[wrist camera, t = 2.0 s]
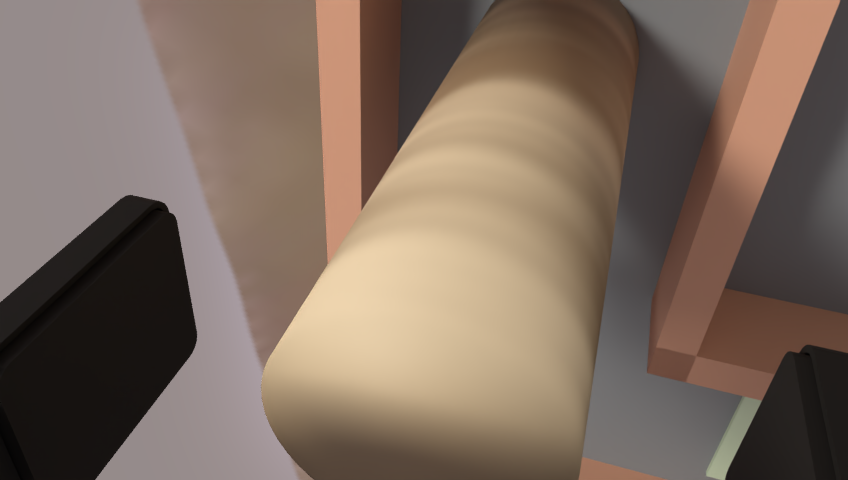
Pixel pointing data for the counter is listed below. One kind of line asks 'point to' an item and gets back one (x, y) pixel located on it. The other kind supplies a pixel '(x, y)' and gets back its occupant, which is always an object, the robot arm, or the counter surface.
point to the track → (656, 203)
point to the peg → (473, 268)
